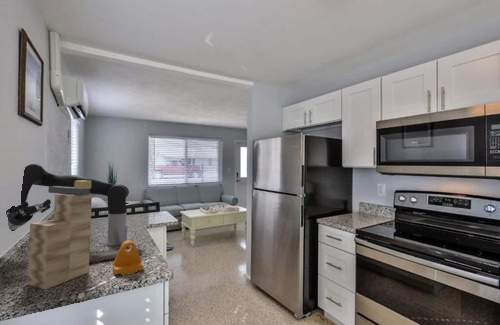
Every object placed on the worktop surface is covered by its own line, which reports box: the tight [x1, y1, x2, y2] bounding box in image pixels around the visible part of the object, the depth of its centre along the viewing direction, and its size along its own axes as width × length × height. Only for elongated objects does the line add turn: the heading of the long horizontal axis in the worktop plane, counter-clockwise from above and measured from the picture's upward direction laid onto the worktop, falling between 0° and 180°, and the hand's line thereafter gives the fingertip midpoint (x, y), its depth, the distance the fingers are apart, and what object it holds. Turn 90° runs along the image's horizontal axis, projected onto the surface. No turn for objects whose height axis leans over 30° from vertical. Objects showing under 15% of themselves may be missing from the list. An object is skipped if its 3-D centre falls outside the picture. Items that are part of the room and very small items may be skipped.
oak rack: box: [26, 193, 93, 290], centre depth 98 cm, size 10×16×32 cm, turn 160°
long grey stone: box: [89, 247, 142, 264], centre depth 118 cm, size 35×5×10 cm
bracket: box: [112, 239, 144, 276], centre depth 106 cm, size 11×7×12 cm, turn 123°
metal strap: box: [47, 181, 91, 195], centre depth 103 cm, size 20×4×6 cm, turn 70°
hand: (38, 202), depth 109 cm, fingers open, 8 cm apart
